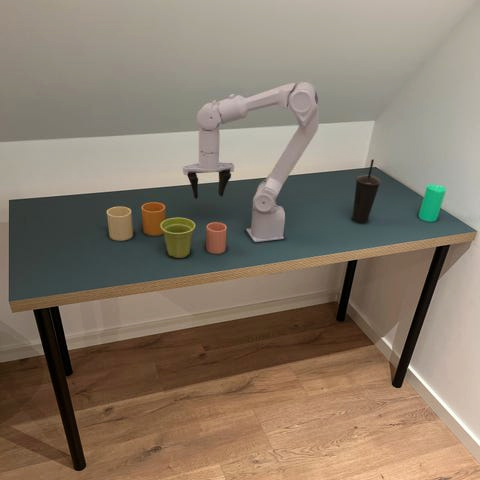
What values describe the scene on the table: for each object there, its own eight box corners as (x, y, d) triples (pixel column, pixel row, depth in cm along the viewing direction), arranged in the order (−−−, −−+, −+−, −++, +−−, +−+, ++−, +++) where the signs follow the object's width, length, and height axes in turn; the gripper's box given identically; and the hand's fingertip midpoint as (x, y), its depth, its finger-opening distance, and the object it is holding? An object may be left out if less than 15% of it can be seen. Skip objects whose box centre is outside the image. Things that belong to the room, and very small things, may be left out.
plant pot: (164, 263, 139) (163, 234, 134) (159, 246, 146) (157, 218, 141) (198, 259, 141) (198, 231, 136) (191, 243, 148) (191, 216, 143)
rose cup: (222, 243, 149) (223, 221, 145) (228, 252, 145) (229, 230, 141) (204, 245, 148) (204, 223, 144) (209, 254, 144) (209, 232, 140)
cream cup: (131, 228, 154) (129, 205, 149) (134, 239, 149) (132, 215, 144) (108, 231, 152) (105, 207, 147) (110, 241, 147) (108, 217, 142)
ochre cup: (163, 224, 157) (162, 201, 153) (168, 234, 152) (167, 211, 148) (141, 226, 155) (139, 203, 151) (145, 236, 150) (143, 213, 146)
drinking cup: (371, 227, 163) (385, 165, 151) (347, 223, 164) (359, 162, 152) (371, 216, 169) (385, 157, 157) (348, 213, 170) (360, 154, 158)
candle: (416, 218, 170) (426, 184, 163) (420, 212, 174) (430, 178, 167) (435, 223, 168) (445, 188, 161) (438, 216, 172) (449, 182, 165)
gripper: (229, 144, 147) (227, 188, 155) (180, 146, 143) (181, 192, 151) (237, 152, 142) (234, 198, 150) (186, 155, 138) (186, 202, 146)
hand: (208, 196), depth 150 cm, fingers open, 7 cm apart
